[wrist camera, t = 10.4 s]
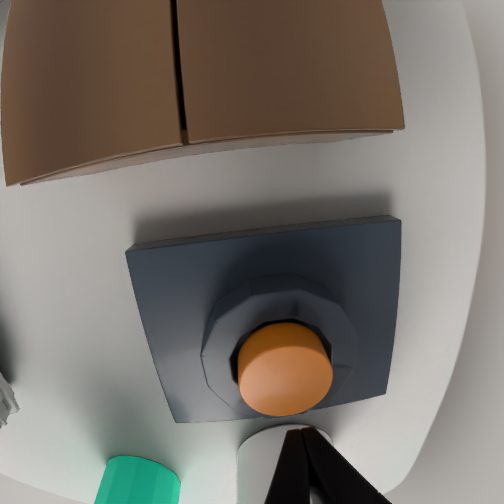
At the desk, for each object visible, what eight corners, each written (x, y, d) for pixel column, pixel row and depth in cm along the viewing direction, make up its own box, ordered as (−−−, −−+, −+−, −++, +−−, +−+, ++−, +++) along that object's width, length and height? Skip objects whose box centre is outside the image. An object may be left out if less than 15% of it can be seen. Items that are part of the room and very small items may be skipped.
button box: (390, 214, 14) (422, 228, 11) (378, 382, 17) (397, 414, 14) (132, 244, 14) (108, 265, 11) (177, 409, 17) (170, 446, 14)
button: (322, 315, 12) (334, 338, 11) (322, 383, 13) (331, 408, 12) (232, 327, 12) (231, 351, 11) (243, 394, 13) (244, 421, 12)
